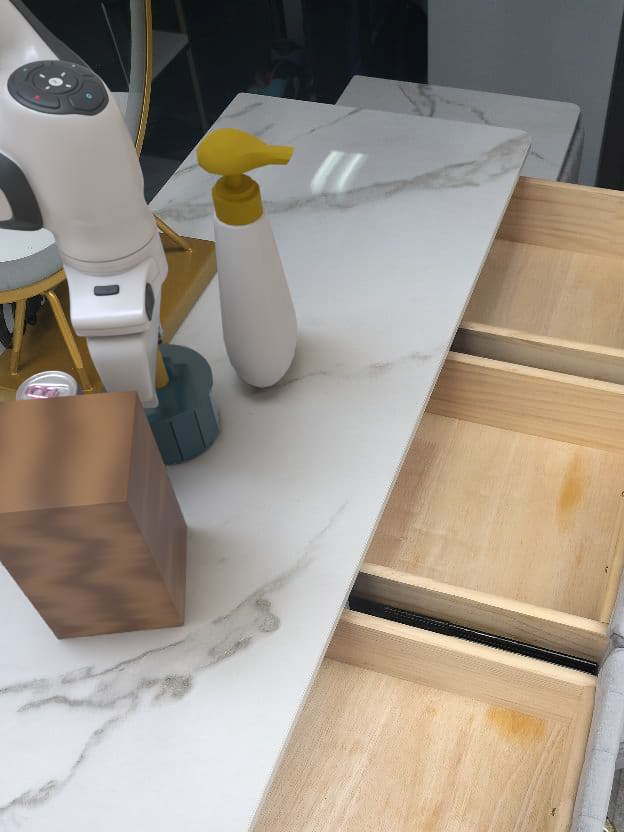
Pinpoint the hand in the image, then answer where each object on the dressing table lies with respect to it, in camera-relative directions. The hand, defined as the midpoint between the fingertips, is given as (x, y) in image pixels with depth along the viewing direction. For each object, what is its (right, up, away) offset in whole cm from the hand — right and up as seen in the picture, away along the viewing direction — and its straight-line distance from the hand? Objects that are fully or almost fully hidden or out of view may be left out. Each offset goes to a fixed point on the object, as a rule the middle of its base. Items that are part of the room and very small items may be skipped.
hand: (153, 370), depth 86 cm
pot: (0, -5, +8) cm, 9 cm away
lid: (0, -1, +2) cm, 2 cm away
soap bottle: (+11, +3, +14) cm, 18 cm away
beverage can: (-7, -13, +3) cm, 15 cm away
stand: (-2, -22, -4) cm, 22 cm away
